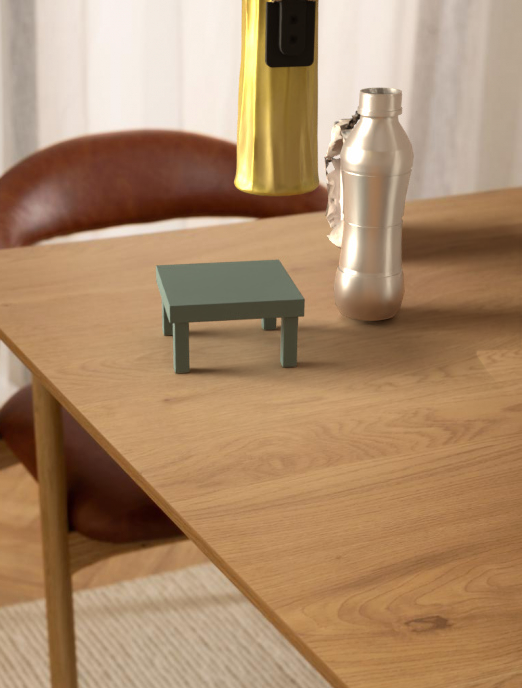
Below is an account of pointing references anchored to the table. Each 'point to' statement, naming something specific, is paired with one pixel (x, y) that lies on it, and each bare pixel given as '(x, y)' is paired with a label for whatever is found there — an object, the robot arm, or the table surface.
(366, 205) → the silver water bottle
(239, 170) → the vase
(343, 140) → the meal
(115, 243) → the table surface
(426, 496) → the table surface
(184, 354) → the stool
